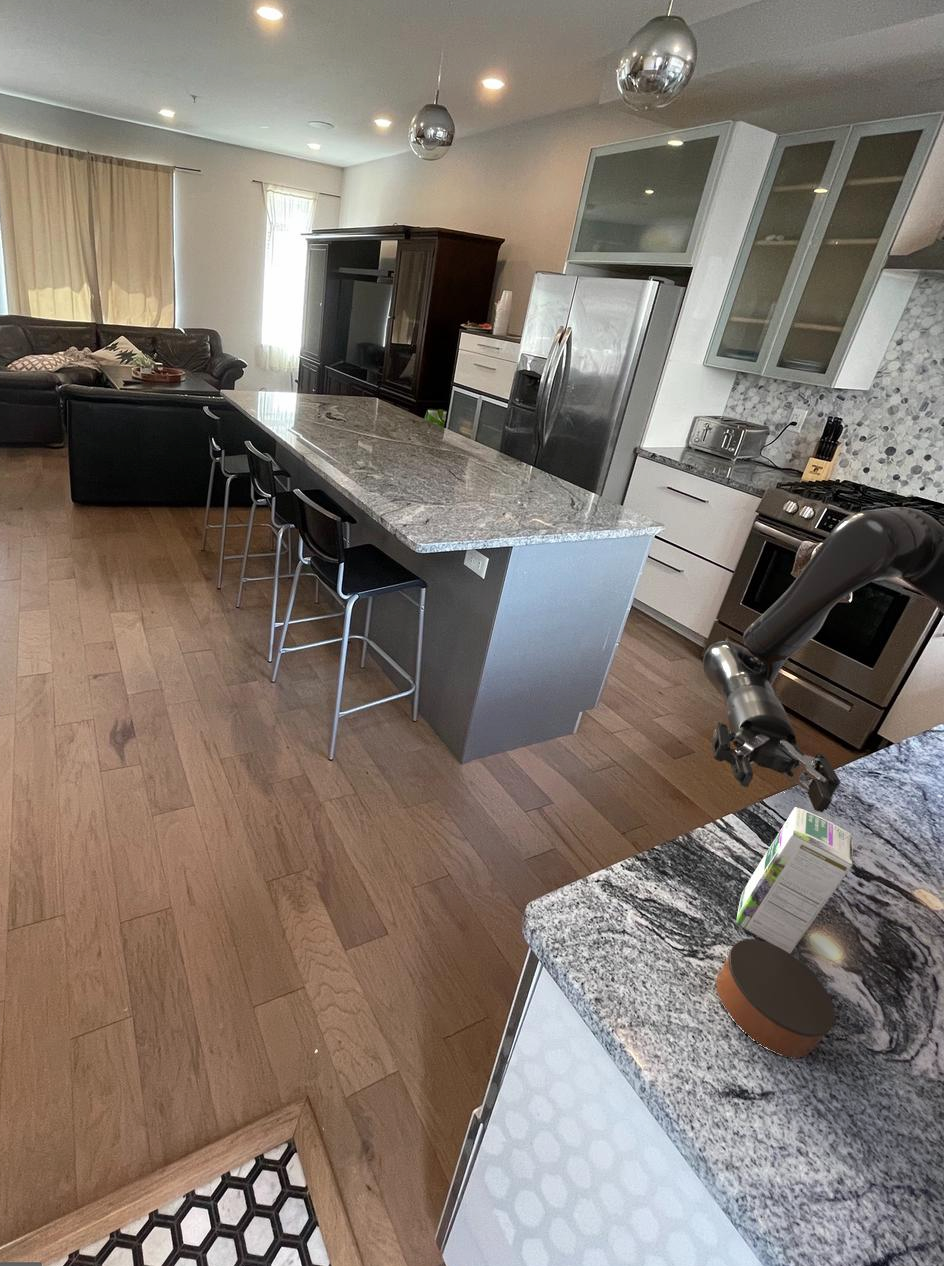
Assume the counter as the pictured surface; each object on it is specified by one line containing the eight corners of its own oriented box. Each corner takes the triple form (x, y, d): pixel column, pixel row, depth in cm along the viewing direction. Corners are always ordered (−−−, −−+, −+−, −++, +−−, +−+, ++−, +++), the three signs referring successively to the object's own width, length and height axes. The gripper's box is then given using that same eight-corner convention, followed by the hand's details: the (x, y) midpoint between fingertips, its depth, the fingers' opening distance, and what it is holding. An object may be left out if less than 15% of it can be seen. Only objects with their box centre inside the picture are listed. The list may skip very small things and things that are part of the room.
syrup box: (740, 891, 76) (792, 802, 70) (795, 922, 73) (854, 831, 67) (734, 924, 72) (789, 832, 66) (792, 958, 69) (855, 864, 63)
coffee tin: (743, 949, 69) (758, 925, 67) (833, 1030, 62) (852, 1005, 60) (696, 987, 64) (711, 962, 62) (788, 1079, 57) (807, 1054, 56)
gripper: (716, 684, 92) (734, 750, 78) (823, 717, 88) (864, 792, 74) (696, 725, 95) (711, 795, 81) (800, 758, 92) (834, 837, 77)
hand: (784, 793), depth 78 cm, fingers open, 8 cm apart
